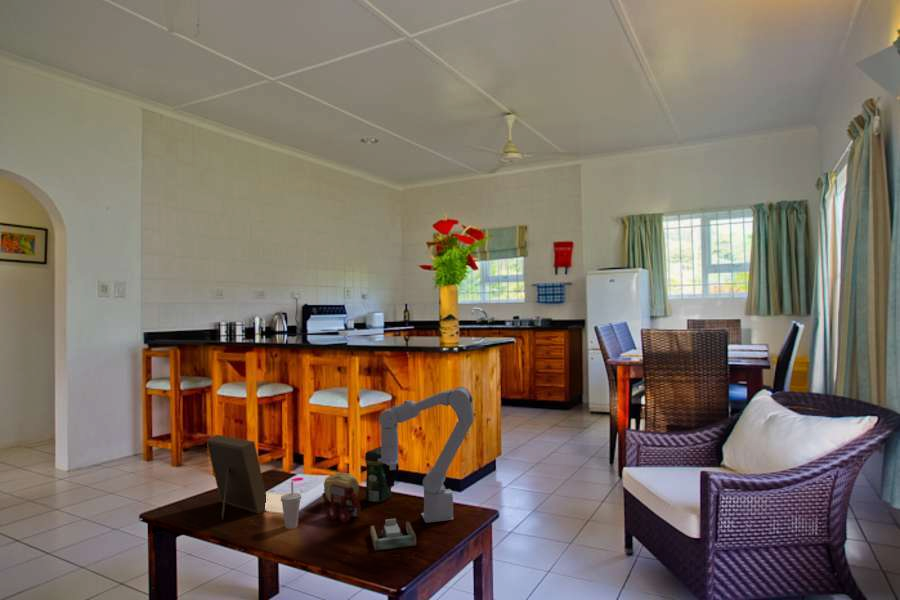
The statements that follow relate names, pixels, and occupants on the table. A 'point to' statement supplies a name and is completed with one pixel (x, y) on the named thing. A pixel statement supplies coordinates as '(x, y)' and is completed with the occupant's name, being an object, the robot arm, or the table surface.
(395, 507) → the table surface
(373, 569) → the table surface
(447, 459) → the robot arm
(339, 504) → the red toy race car
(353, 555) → the table surface
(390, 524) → the grey knobbed block
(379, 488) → the coffee jar
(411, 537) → the bay
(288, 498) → the smoothie
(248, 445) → the photo frame
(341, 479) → the sculpture
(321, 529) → the table surface
